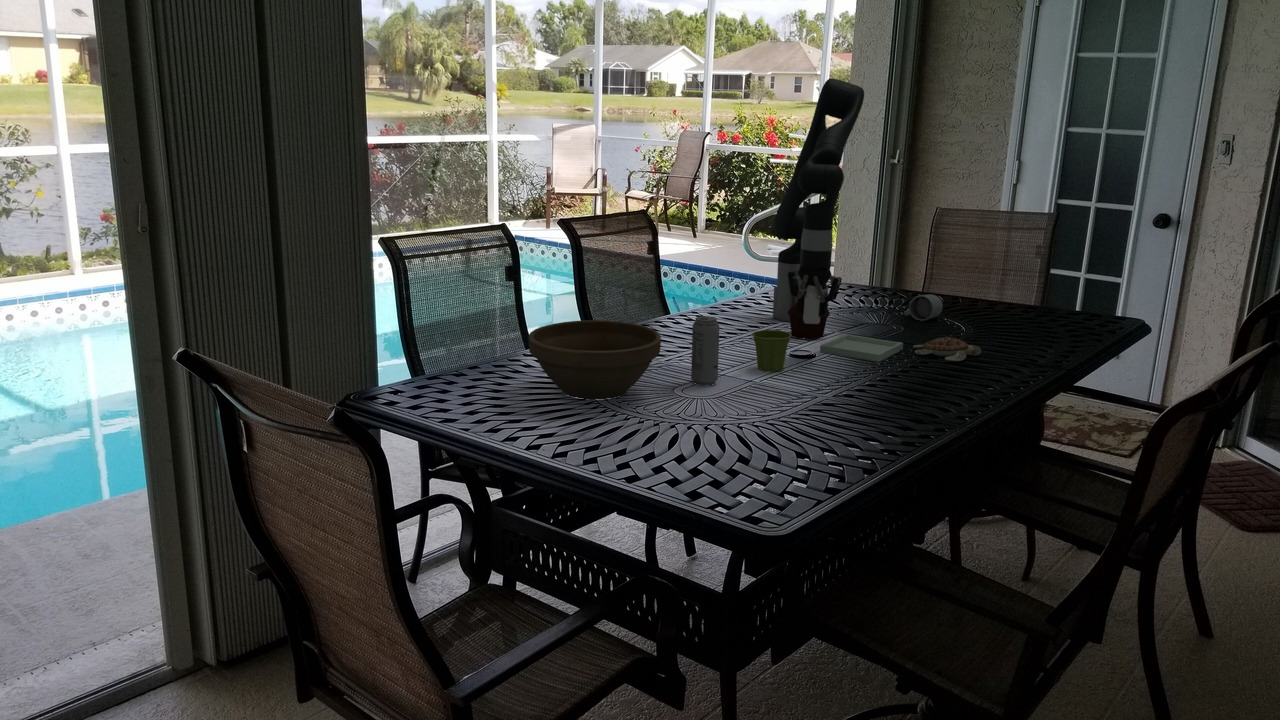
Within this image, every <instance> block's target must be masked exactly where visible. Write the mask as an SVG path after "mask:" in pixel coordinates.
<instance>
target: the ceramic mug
mask: <svg viewBox="0 0 1280 720" xmlns="http://www.w3.org/2000/svg"><path fill="white" fill-rule="evenodd" d="M943 308H944V306H943V301H942V299H941V298H940V297H939V296H937V295H935V294H931V293H930V294H920V295H917V296H915V297H913V298H912V299H911V301H910V302H909V306H908V309H906V310H904V312H903V313H904V316H905V317H908V315H909V316H911V317H912V318H913V319H914V320H916V321H918V320H920V321H919V322H924V321H928V320H930V319H934V318H937V317H938V316H939V315H940V314H941V313H942V311H943Z"/></svg>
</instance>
